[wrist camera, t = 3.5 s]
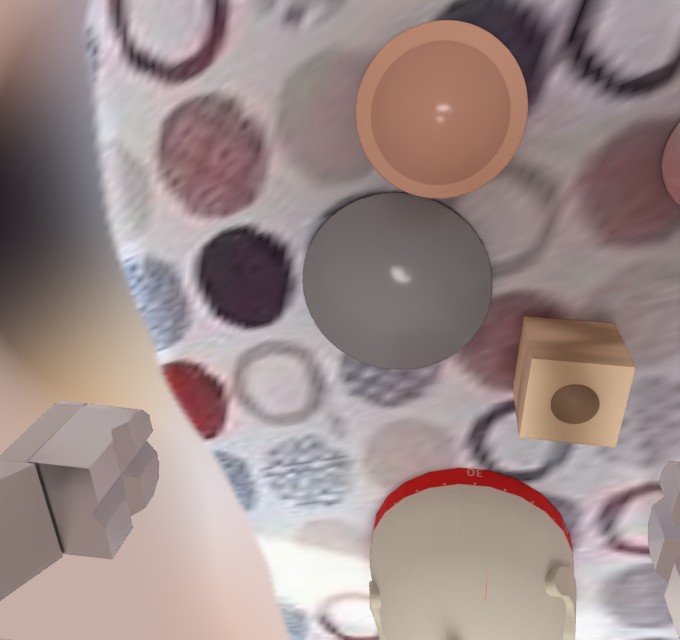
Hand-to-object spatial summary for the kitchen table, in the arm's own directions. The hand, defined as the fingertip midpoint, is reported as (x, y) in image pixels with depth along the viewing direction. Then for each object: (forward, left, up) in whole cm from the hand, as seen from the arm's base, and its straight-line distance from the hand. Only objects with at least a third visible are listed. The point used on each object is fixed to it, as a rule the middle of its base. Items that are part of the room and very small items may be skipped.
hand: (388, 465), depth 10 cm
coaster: (+2, +8, -26) cm, 27 cm away
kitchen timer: (-4, +28, -26) cm, 38 cm away
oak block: (-8, +12, -26) cm, 29 cm away
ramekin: (0, -2, -26) cm, 26 cm away
